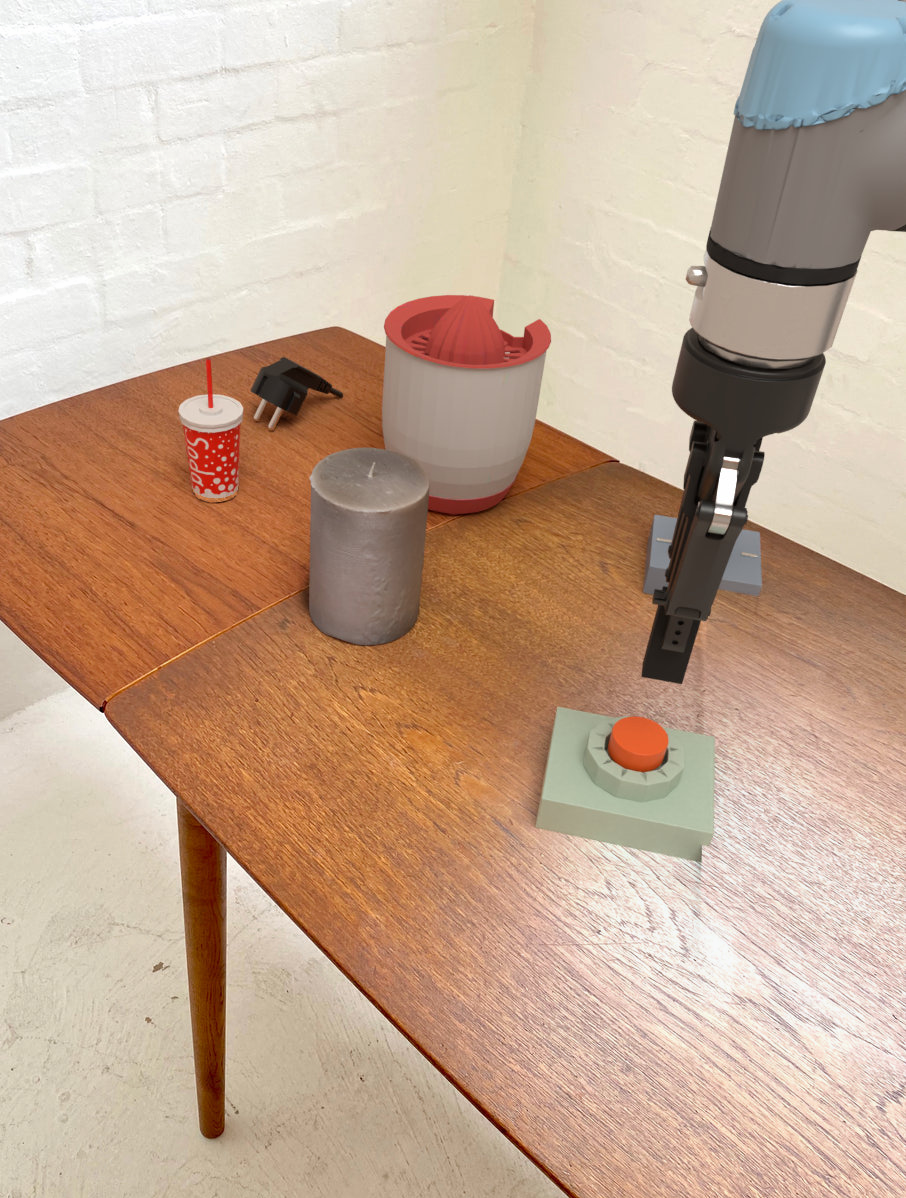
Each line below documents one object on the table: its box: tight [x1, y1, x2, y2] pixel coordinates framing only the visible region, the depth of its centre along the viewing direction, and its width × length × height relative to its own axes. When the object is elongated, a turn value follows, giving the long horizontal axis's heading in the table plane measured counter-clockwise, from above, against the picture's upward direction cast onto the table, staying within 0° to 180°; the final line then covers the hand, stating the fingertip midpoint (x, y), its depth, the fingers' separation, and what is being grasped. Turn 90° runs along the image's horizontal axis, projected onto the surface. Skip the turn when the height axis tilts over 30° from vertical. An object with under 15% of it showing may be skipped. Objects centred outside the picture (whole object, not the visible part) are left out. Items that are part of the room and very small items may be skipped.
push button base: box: [534, 706, 716, 863], centre depth 81 cm, size 12×10×5 cm
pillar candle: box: [308, 447, 430, 646], centre depth 93 cm, size 10×10×15 cm
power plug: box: [249, 356, 344, 431], centre depth 123 cm, size 6×8×12 cm
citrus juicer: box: [381, 294, 552, 516], centre depth 108 cm, size 16×17×20 cm
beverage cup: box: [178, 357, 244, 499], centre depth 107 cm, size 6×6×14 cm
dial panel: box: [642, 514, 763, 597], centre depth 104 cm, size 10×9×3 cm
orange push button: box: [608, 715, 669, 772], centre depth 79 cm, size 4×4×2 cm
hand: (662, 673), depth 75 cm, fingers closed
